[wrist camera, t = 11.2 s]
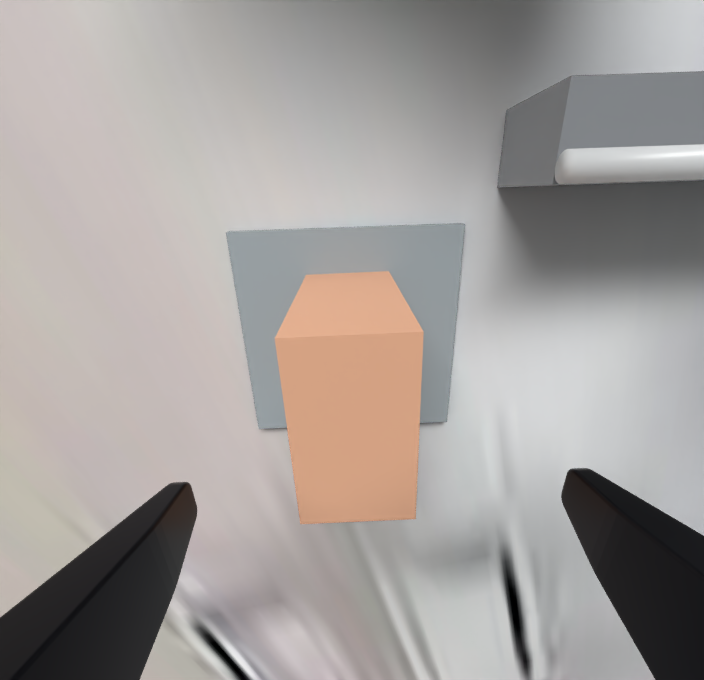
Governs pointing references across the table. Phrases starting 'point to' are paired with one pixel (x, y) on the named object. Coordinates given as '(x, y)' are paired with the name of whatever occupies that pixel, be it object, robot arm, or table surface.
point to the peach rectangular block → (352, 397)
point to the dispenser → (607, 131)
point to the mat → (347, 257)
